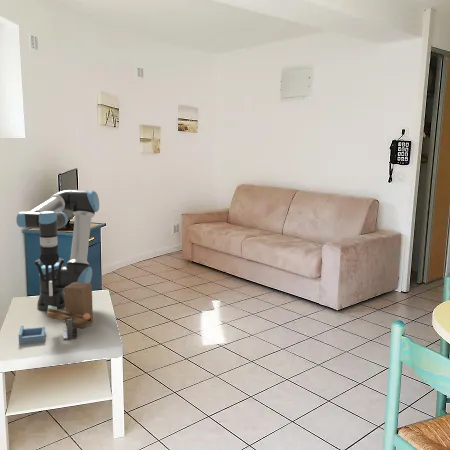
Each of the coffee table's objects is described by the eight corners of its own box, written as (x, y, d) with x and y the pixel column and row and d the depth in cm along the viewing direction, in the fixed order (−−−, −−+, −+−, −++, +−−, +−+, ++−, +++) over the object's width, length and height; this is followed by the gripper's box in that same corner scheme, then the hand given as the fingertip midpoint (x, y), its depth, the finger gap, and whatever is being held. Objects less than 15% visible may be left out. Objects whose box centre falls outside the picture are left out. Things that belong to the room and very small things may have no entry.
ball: (82, 319, 223) (82, 312, 222) (90, 319, 224) (90, 312, 223) (82, 322, 219) (82, 314, 219) (90, 322, 220) (91, 314, 220)
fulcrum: (63, 340, 214) (62, 321, 213) (63, 330, 225) (62, 312, 223) (77, 338, 216) (76, 319, 215) (76, 329, 226) (76, 311, 225)
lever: (46, 317, 212) (49, 310, 212) (47, 307, 225) (50, 300, 225) (90, 326, 219) (93, 319, 219) (89, 316, 232) (92, 309, 232)
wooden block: (83, 329, 227) (82, 289, 223) (64, 327, 229) (63, 287, 225) (93, 321, 237) (92, 282, 233) (75, 319, 239) (73, 281, 235)
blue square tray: (21, 335, 219) (20, 325, 218) (45, 332, 222) (44, 323, 221) (19, 344, 209) (18, 334, 208) (44, 341, 212) (43, 332, 211)
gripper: (33, 247, 211) (35, 298, 215) (64, 246, 215) (65, 296, 219) (34, 244, 218) (36, 293, 222) (64, 243, 222) (65, 291, 226)
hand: (51, 295), depth 221 cm, fingers closed
